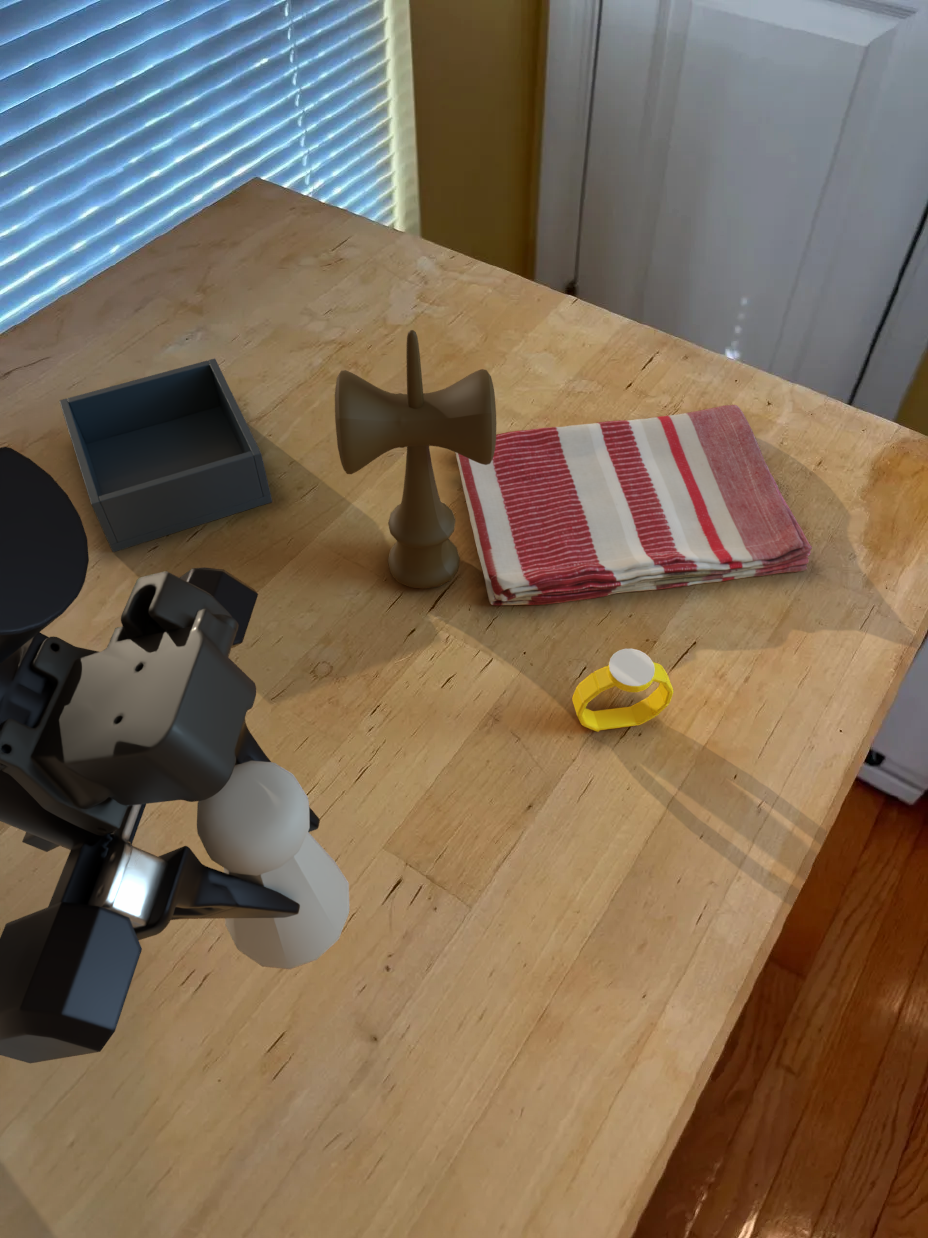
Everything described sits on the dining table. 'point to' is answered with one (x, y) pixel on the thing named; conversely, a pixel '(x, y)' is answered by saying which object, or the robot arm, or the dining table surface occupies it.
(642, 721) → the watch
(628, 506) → the dish towel
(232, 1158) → the dining table surface
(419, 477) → the kendama
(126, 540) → the bin
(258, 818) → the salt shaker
